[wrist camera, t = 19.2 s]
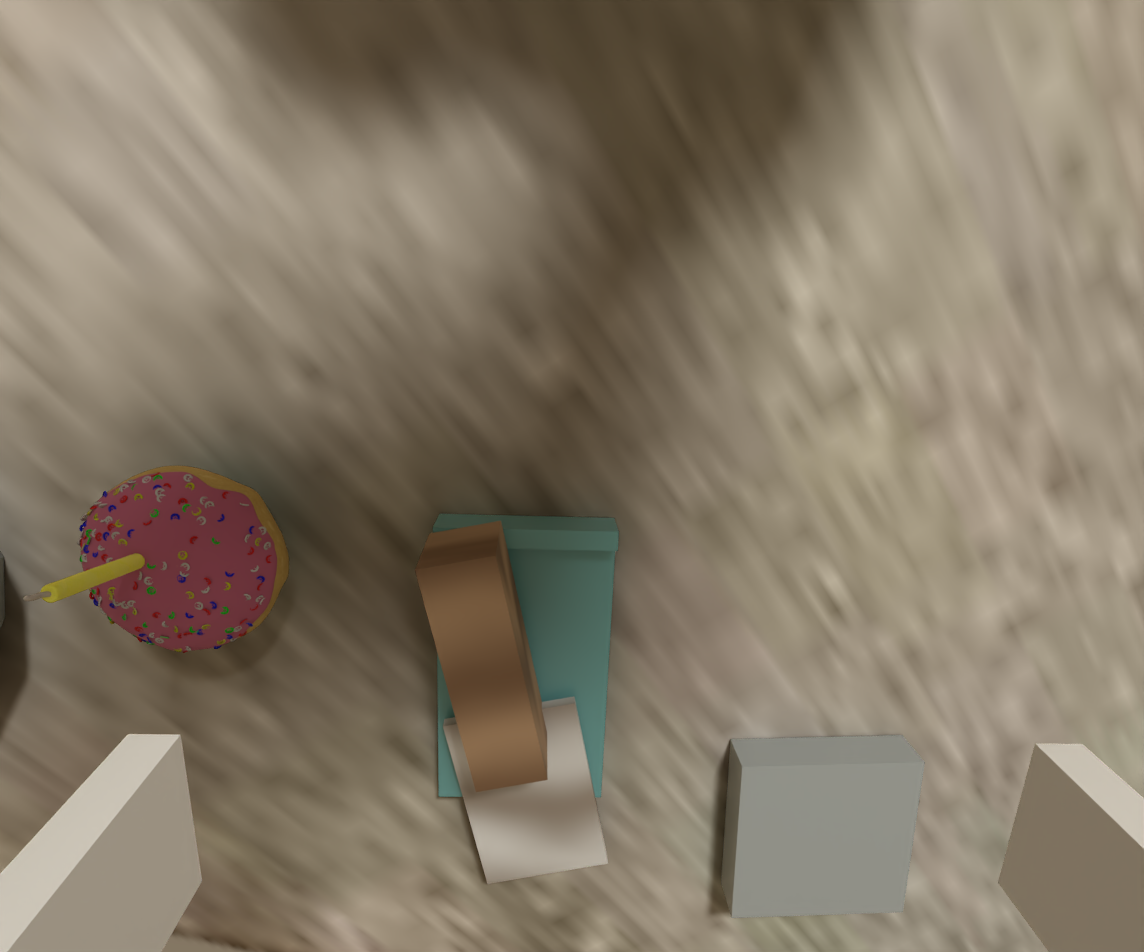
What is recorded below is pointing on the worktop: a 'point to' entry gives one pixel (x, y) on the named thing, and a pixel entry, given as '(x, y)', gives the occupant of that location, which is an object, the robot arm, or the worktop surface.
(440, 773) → the rest
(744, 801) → the tile
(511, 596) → the turner
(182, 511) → the cupcake
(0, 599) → the pie
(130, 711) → the worktop surface
